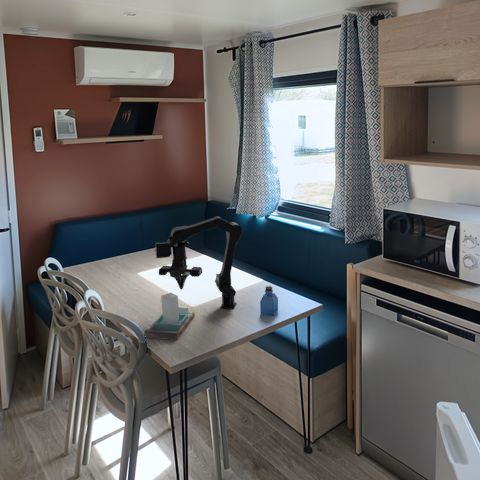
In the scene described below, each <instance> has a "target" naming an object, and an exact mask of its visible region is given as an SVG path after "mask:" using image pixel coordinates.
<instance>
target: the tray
mask: <svg viewBox="0 0 480 480" xmlns="http://www.w3.org/2000/svg"><path fill="white" fill-rule="evenodd" d="M178 307H179V322H180V323H179V324H164V323H163V313H162V314H161V315H160V316H159V317H158V318H157V319H156V320H157V321H156V320H155V321H156V322H155V321H154V322H153V324H154V330H167V331H178V330H179V329H180V328H181V326H182V325H183V324H184V323H185V321H186V320H187V319H188V317H189V316H190V315H191V313H192V312H189V310H190V309H189V306H180V305H178Z"/></svg>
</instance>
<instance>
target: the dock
mask: <svg viewBox="0 0 480 480" xmlns="http://www.w3.org/2000/svg"><path fill="white" fill-rule="evenodd" d="M190 313H191V315H190V316H189V317H188V319H187V320H186V321H185V323H184V324H183V325H182V326H181V328H180V329H179V330H178V331H167V330H154V323H155V322H156V321H157V319H156V320H155V321H154V323H153V324H152V325H151V326H150V327H149V328H147V329H145V330H144V337H145V336H146V338H145V339H156V340H168V341H169V340H171V341H172V340H173V341H178V340H179V339H180V337H181V336H182V335H183V333H184V332H185V331H186V329H187V328H188V327H189V326H190V324H191V323H192V321H193V320H194V318H195V317H196V315H195V312H194V311H192V312H190Z"/></svg>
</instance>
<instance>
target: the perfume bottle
mask: <svg viewBox="0 0 480 480" xmlns="http://www.w3.org/2000/svg"><path fill="white" fill-rule="evenodd" d="M264 288H265V289H264V294H263V295H262V297H261V299H260V301H259V302H260V303H259V305H260V307H259V311H260V315H261V314H262V316H269V315H270V317H274V316H275V315H276V314H277V313H278V312H279V299H278V298H279V297H278V296H277V295H276V293H274V289H273V286H271V285H268V286H265V287H264ZM277 311H278V312H277Z"/></svg>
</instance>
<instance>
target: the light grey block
mask: <svg viewBox="0 0 480 480" xmlns="http://www.w3.org/2000/svg"><path fill="white" fill-rule="evenodd" d="M160 297H161V299H160V301H161V311H162V314H163V323H164V324H179V323H180V322H179V307H178V306H179V295H178V294H176V293H173V292H169V293H165V294H162V295H160Z"/></svg>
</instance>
